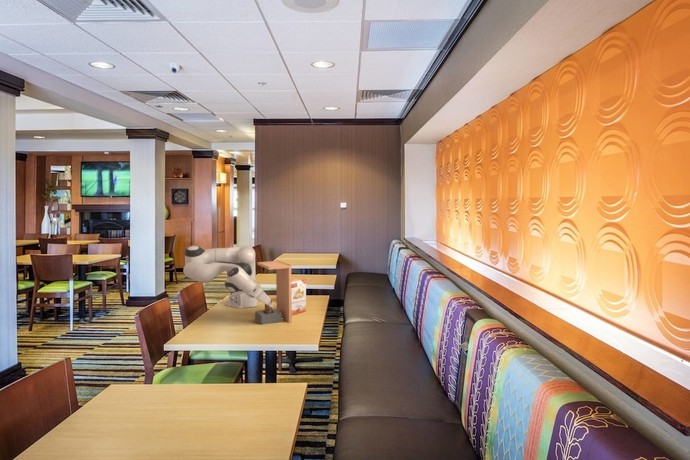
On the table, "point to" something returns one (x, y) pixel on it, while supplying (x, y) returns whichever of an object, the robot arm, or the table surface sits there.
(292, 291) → the cracker box
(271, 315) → the socket
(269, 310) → the peg
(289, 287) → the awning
